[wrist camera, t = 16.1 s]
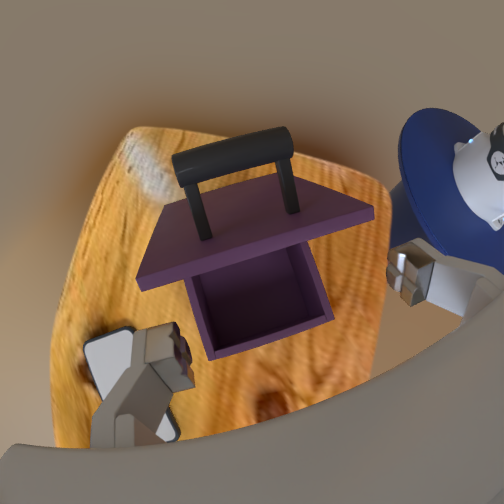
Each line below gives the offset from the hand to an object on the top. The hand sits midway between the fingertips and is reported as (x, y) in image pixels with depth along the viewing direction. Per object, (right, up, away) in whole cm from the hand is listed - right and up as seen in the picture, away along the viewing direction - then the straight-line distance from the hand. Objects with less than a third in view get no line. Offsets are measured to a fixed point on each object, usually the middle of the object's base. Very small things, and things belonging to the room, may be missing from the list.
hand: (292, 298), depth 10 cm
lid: (-2, +4, +11) cm, 12 cm away
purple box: (-2, -1, +25) cm, 25 cm away
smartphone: (-17, -16, +21) cm, 31 cm away
